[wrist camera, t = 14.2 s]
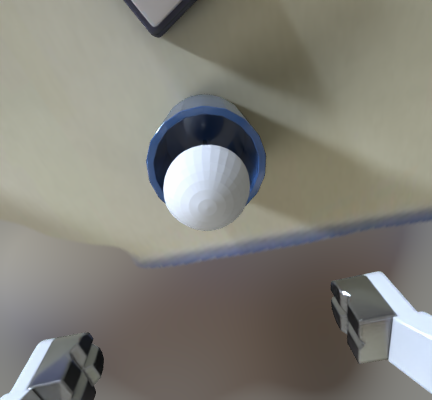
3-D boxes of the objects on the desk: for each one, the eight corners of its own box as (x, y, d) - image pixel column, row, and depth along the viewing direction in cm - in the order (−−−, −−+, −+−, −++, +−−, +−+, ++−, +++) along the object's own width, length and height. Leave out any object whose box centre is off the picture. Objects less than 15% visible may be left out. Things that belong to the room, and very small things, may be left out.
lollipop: (192, 102, 28) (184, 140, 15) (242, 129, 29) (276, 185, 16) (168, 155, 30) (142, 229, 17) (216, 177, 32) (226, 262, 18)
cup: (167, 183, 32) (156, 223, 24) (155, 95, 28) (137, 109, 20) (248, 178, 33) (263, 216, 25) (249, 91, 28) (268, 102, 20)
